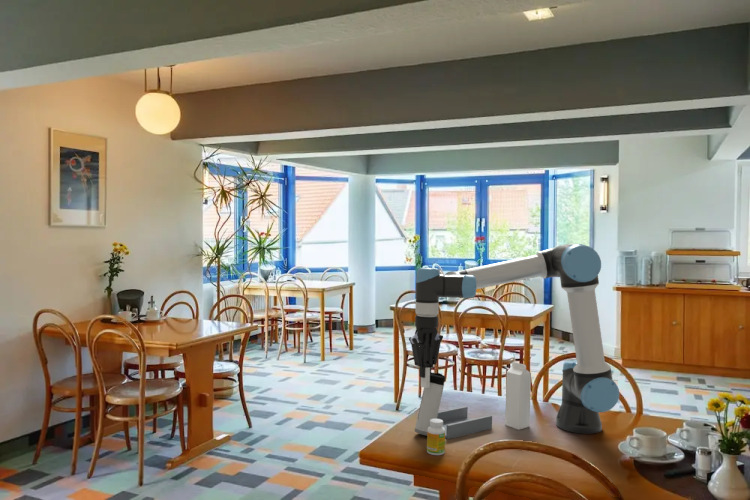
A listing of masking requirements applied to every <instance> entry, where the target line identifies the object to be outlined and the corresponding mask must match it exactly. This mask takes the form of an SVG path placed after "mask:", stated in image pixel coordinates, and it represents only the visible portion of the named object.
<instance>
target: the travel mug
mask: <svg viewBox="0 0 750 500" xmlns="http://www.w3.org/2000/svg"><path fill="white" fill-rule="evenodd" d="M445 381H446V375H443V373H439V372H436V373H435V372H431V377H430V388H424V387H423V391H422V395H421V400H420V405H419V409H418V413H417V418H416V422H415V427H414V431H415V433H416V434H418V435H419V434H420V435H422V436H427V430H428V427H430V420H431V419H437V415H438V412H440V407H441V406H440V405H441V401H442V396H443V392H444V387H445Z"/></svg>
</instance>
